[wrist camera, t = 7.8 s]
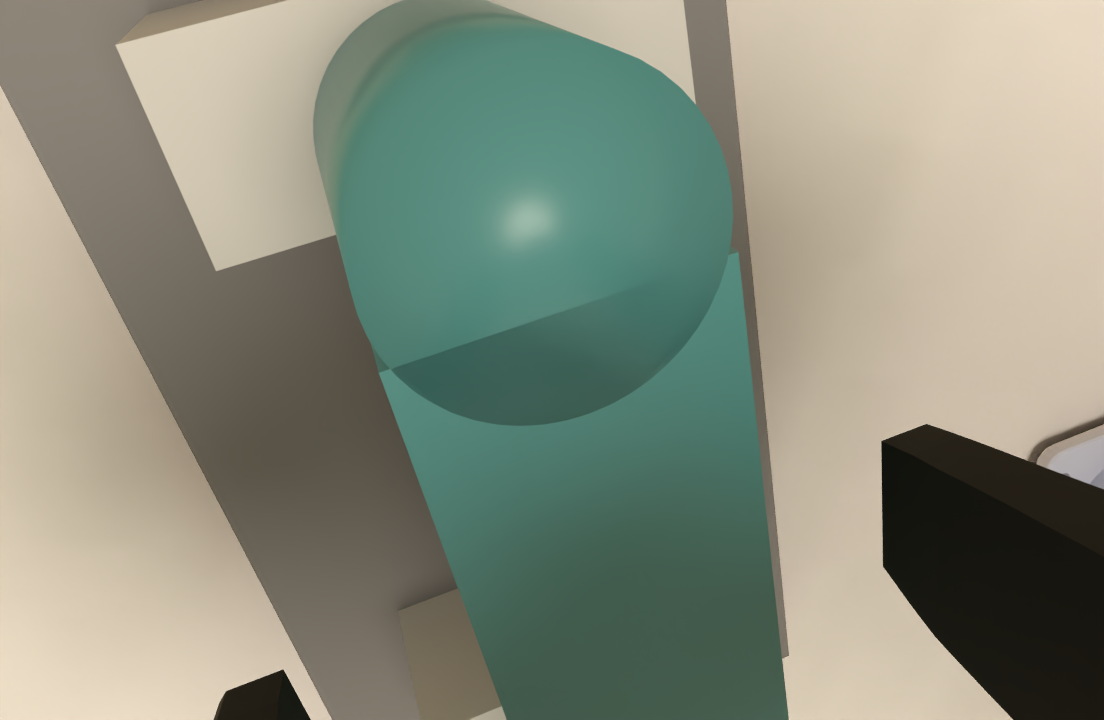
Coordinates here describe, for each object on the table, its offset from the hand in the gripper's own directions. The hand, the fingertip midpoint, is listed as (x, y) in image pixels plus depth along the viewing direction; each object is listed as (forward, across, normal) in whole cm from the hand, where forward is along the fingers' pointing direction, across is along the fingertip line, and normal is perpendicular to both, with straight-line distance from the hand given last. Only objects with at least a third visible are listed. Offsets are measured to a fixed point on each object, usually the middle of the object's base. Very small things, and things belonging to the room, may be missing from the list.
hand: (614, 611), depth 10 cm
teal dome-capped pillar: (+3, 0, 0) cm, 3 cm away
